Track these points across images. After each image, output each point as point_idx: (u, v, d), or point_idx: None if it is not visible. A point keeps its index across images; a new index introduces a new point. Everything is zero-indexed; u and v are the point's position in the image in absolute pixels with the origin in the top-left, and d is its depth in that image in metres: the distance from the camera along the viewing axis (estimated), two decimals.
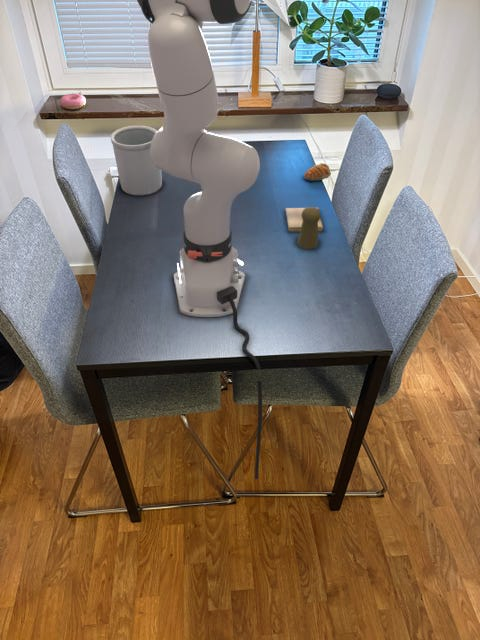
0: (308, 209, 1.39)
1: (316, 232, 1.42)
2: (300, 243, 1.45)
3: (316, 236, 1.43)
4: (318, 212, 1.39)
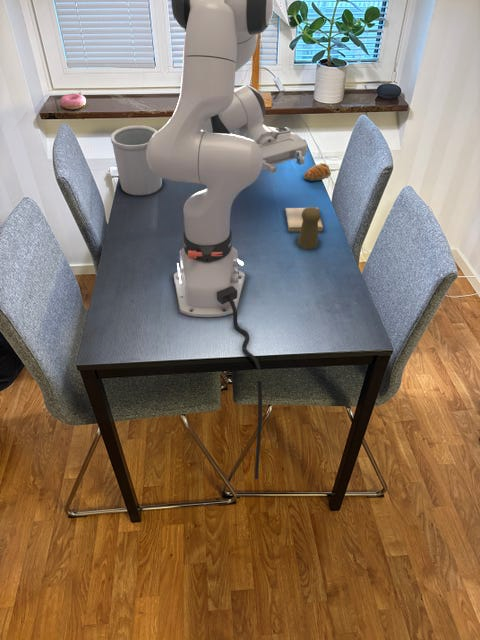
0: (308, 209, 1.39)
1: (316, 232, 1.42)
2: (300, 243, 1.45)
3: (316, 236, 1.43)
4: (318, 212, 1.39)
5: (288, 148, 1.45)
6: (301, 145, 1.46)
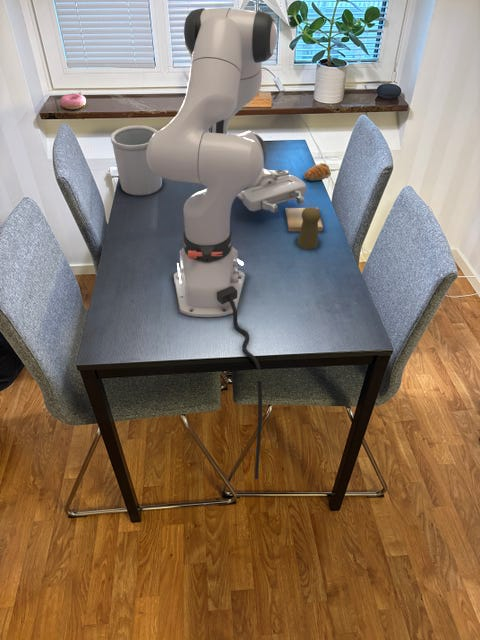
0: (308, 209, 1.39)
1: (316, 232, 1.42)
2: (300, 243, 1.45)
3: (316, 236, 1.43)
4: (318, 212, 1.39)
5: (288, 189, 1.52)
6: (300, 186, 1.53)
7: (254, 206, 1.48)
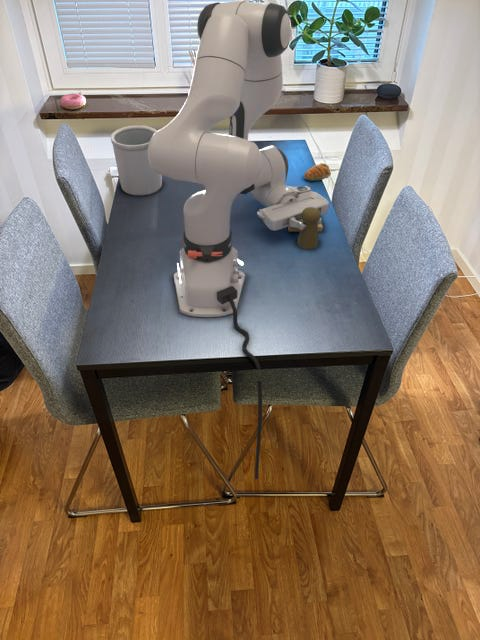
0: (308, 209, 1.39)
1: (316, 232, 1.42)
2: (300, 243, 1.45)
3: (316, 236, 1.43)
4: (318, 212, 1.39)
5: None
6: (323, 204, 1.46)
7: (276, 225, 1.41)
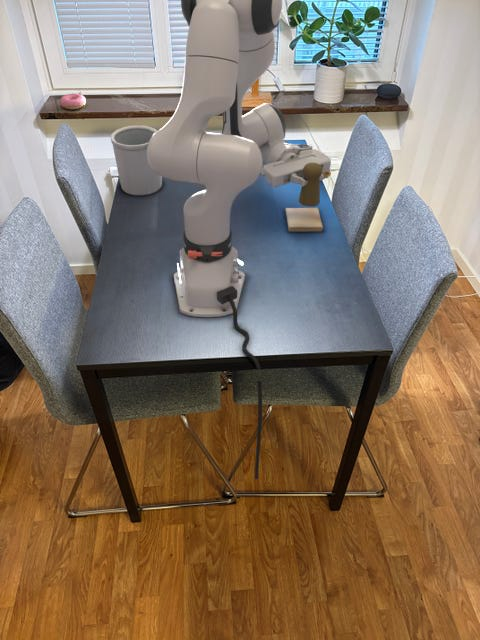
0: (309, 164, 1.36)
1: (318, 189, 1.39)
2: (301, 200, 1.42)
3: (318, 193, 1.40)
4: (320, 167, 1.36)
5: None
6: (325, 161, 1.43)
7: (276, 181, 1.38)
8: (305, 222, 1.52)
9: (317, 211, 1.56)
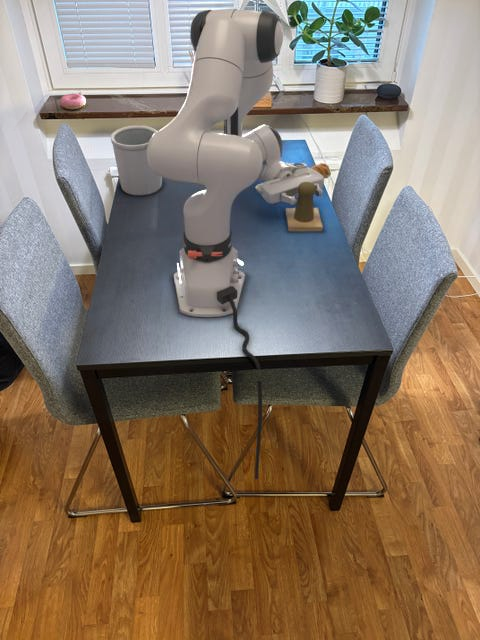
0: (304, 183, 1.47)
1: (311, 206, 1.50)
2: (296, 217, 1.52)
3: (311, 210, 1.51)
4: (313, 186, 1.46)
5: (306, 181, 1.52)
6: (319, 179, 1.53)
7: (273, 199, 1.48)
8: (305, 222, 1.52)
9: (317, 211, 1.56)
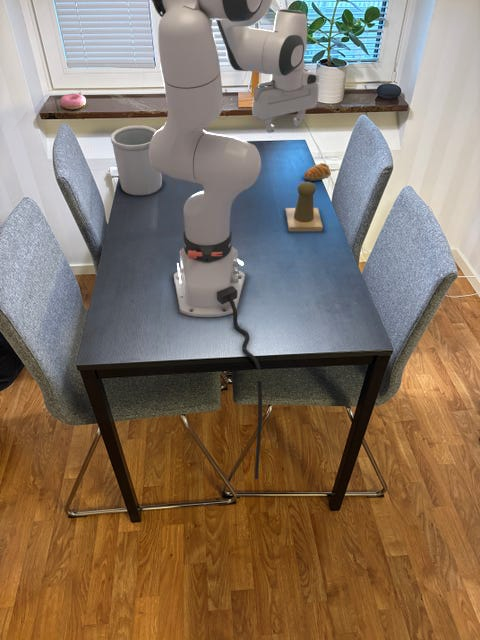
0: (304, 183, 1.47)
1: (311, 206, 1.50)
2: (296, 217, 1.52)
3: (311, 210, 1.51)
4: (313, 186, 1.46)
5: (298, 109, 1.43)
6: (310, 107, 1.45)
7: None
8: (305, 222, 1.52)
9: (317, 211, 1.56)
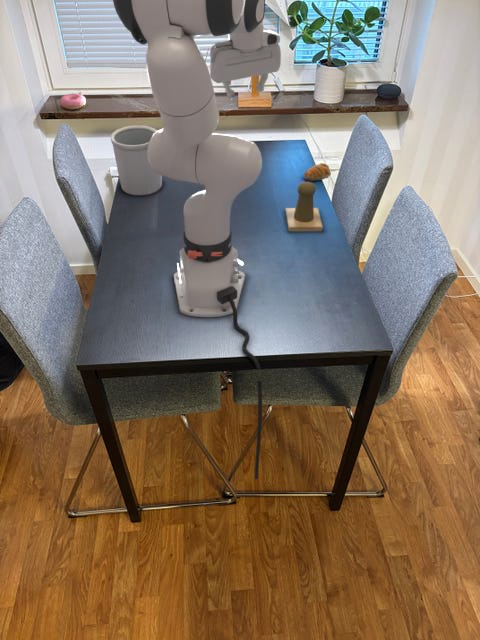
0: (304, 183, 1.47)
1: (311, 206, 1.50)
2: (296, 217, 1.52)
3: (311, 210, 1.51)
4: (313, 186, 1.46)
5: (259, 72, 1.35)
6: (273, 71, 1.37)
7: None
8: (305, 222, 1.52)
9: (317, 211, 1.56)
